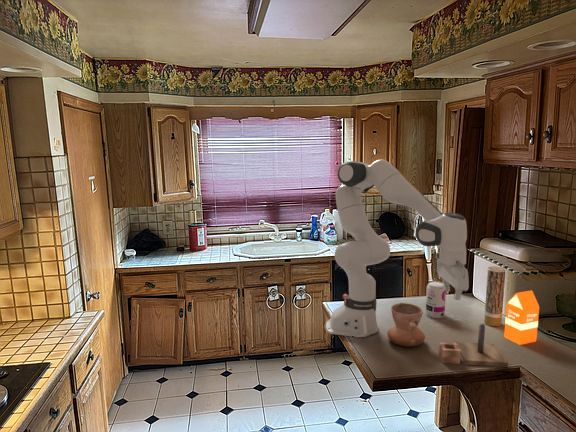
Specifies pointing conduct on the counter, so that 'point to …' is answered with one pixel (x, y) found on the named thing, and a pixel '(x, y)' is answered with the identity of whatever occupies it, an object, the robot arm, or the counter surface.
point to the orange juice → (522, 318)
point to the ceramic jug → (406, 325)
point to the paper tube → (494, 296)
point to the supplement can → (435, 300)
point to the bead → (449, 353)
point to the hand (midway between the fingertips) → (451, 295)
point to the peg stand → (481, 352)
